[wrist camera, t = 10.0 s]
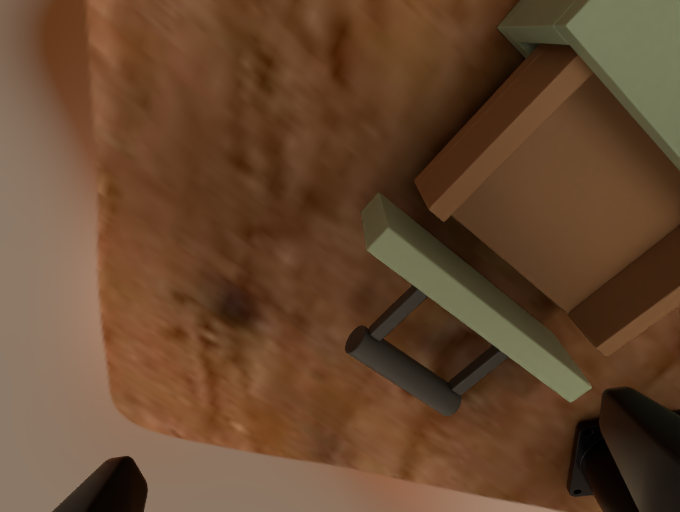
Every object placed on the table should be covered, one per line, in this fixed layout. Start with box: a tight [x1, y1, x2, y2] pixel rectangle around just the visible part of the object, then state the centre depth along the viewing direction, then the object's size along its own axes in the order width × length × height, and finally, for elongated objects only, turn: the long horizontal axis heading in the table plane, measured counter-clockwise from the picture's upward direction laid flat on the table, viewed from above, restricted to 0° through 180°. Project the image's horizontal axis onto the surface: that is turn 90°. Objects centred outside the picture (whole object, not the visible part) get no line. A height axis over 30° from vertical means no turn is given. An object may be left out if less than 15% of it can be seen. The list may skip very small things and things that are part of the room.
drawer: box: [345, 43, 680, 416], centre depth 18 cm, size 18×12×4 cm
